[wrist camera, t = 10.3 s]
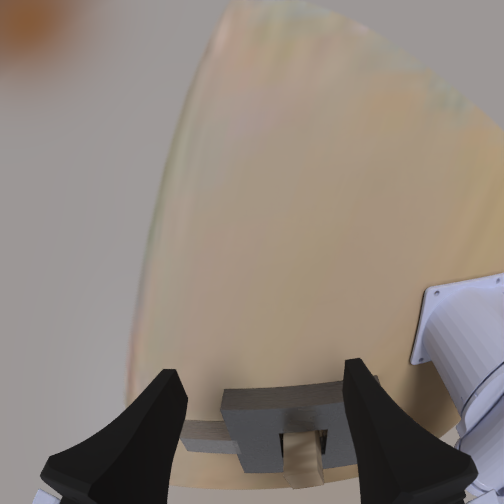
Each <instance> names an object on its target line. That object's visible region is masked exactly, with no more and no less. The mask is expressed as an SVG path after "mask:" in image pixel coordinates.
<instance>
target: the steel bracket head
mask: <svg viewBox="0 0 504 504" xmlns="http://www.w3.org/2000/svg"><path fill="white" fill-rule="evenodd" d="M374 378H375V379H376V380H377V382H378V383H379V384H380V382H379V379H378V376H377V375H375V376H374ZM380 386H381V385H380ZM342 388H343V381H337V382H329V383H321V384H312V385H301V386H290V387H275V388H256V389H224V392H223V398H222V403H221V409H220V411H221V413H222V416H223V419H224V422H215V421H193V420H185V421H184V424H183V428H182V431H181V434H180V439H181V441H182V443H183V444H184V446H185V448H186V449H187V451H193V452H206V453H225V454H237V455H238V458H239V460H240V463H241V465H242V468H243V470H244V473H277V472H283V456H284V448H283V440H282V434H281V433H294V432H306V431H316V430H324V433H323V437H320V445H321V456H322V467H323V469H326V468H334V467H341V466H347V465H353V464H357V458H356V453H355V448H354V445H353V441H352V437H351V433H350V429H349V425H348V421H347V417H346V413H345V408H344V401H343V394H342Z"/></svg>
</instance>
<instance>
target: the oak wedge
mask: <svg viewBox="0 0 504 504" xmlns="http://www.w3.org/2000/svg"><path fill="white" fill-rule="evenodd" d="M283 448H284V456H283V476H284V478H285V479H286V480H287V482H288V483H289V484H290V486H291V487H292V488H293V489H300V488H307V487H314V486H319V485H324V479H323V467H322V456H321V445H320V435H319V430H316V431H306V432H294V433H283Z"/></svg>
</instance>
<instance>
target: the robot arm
mask: <svg viewBox="0 0 504 504" xmlns="http://www.w3.org/2000/svg"><path fill="white" fill-rule="evenodd" d="M496 280H497V281H496ZM436 291H437V293H435V292H436ZM434 293H435V294H434ZM420 358H421V359H420ZM429 361H432V362H433V364H434V365H435V367H436V369H437V371H438V373H439V375H440V377H441V378H442V380H443V382H444V384H445V386H446V388H447V390H448V392H449V394H450V396H451V398H452V400H453V402H454V404H455V406H456V408H457V410H458V412H459V415H460V417H461V421H460V422H459V423H458V425H457V426H456V429H457V431H458V433H459V436H460V438H459V439H458V441H457V442H456V444H455V446H454V448H453V447H452V446H450V445H448V444H446V443H445V442H443V441H441V440H440V439H438V438H437V437H435V436H434V435H432V434H431V433H430V432H428V431H427V430H425V429H424V428H423V427H421V426H420V425H419V424H418V423H416V422H415V421H414V420H413V419H412V418H411V417H410V416H408V415H407V414H406V413H405V412H404V411H403V410H402V409H401V408H400V407H399V406H398V405H397V404H396V403H395V402H394V401H393V400H392V398H391V397H390V396H389V395H388V394H387V393H386V391H385V390H384V389H383V388H382V387H381V386H380V384H379V383H378V382H377V380H376V379H375V378H374V376H373V375H372V374H371V372H370V371H369V370H368V368H367V367H366V365H365V364H364V362H363V361H362V359H360V358H355V359H349V360H345V369H344V379H343V388H342V394H343V401H344V408H345V413H346V417H347V421H348V425H349V429H350V433H351V437H352V441H353V445H354V448H355V453H356V458H357V464H358V473H359V482H360V494H361V504H465V503H464V500H463V499H464V498H465V497H466V494H465V491H464V490H465V489H466V490H467V491H468V492H469V493H471V494H472V495H475V496H477V498H475V499H473V500H471V501H469V502H467V503H466V504H504V273H501V274H496V275H491V276H486V277H481V278H476V279H471V280H466V281H460V282H455V283H449V284H444V285H438V286H432V287H429V288H427V289H426V291H425V293H424V299H423V305H422V310H421V315H420V320H419V325H418V330H417V334H416V339H415V343H414V347H413V351H412V355H411V359H410V362H411V364H412V365H416V364H420V363H425V362H429ZM187 403H188V397H187V395H186V392H185V390H184V388H183V385H182V383H181V381H180V378H179V376H178V373H177V371H176V369H163V370H162V371H161V372H160V373H159V374H158V375H157V376H156V378H155V379H154V380H153V381H152V382H151V383H150V384H149V385H148V387H147V388H146V389H145V390H144V391H143V392H142V393H141V394H140V395H139V396H138V397H137V399H136V400H135V401H134V402H133V403H132V404H131V405H130V406H129V407H128V408H127V409H126V410H125V411H124V412H122V413H121V414H120V415H119V416H118V417H117V418H116V419H115V420H113V421H112V422H111V423H110V424H108V425H107V426H106V427H105V428H103V429H102V430H100V431H99V432H97V433H96V434H94V435H93V436H91V437H90V438H88V439H86V440H85V441H83V442H81V443H80V444H77V445H75V446H73V447H71V448H69V449H67V450H65V451H62V452H60V453H58V454H55V455H52V456H50V457H49V458H48V460H47V462H46V464H45V466H44V468H43V470H42V472H41V474H40V477H41V479H42V480H43V481H44V482H45V483H46V484H48V485H49V486H50V487H51V488H53V489H54V490H55V491H57V492H58V493H59V494H61V495H62V496H63V497H62V499H61V500H60V499H58V498H57V497H55V496H53V495H51V494H49V493H47V492H45V491H43V490H41V489H38V491H37V494H36V496H35V498H34V500H33V502H32V504H167V497H168V488H169V480H170V473H171V467H172V462H173V458H174V454H175V451H176V448H177V444H178V441H179V438H180V434H181V431H182V428H183V424H184V421H185V416H186V410H187Z"/></svg>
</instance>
